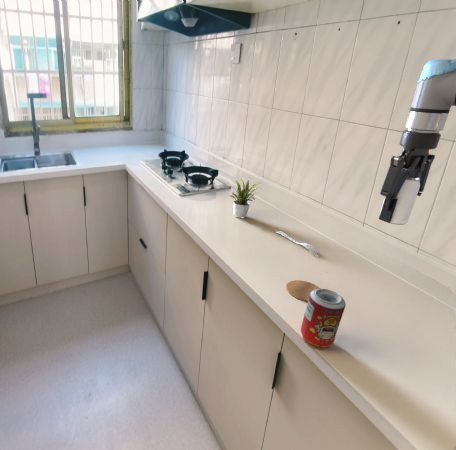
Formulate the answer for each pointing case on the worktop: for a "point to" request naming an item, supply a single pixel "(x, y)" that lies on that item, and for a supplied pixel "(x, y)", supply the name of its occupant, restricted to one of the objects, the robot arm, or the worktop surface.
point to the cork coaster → (301, 289)
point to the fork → (299, 243)
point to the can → (405, 201)
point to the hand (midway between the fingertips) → (393, 218)
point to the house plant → (242, 199)
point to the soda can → (322, 318)
